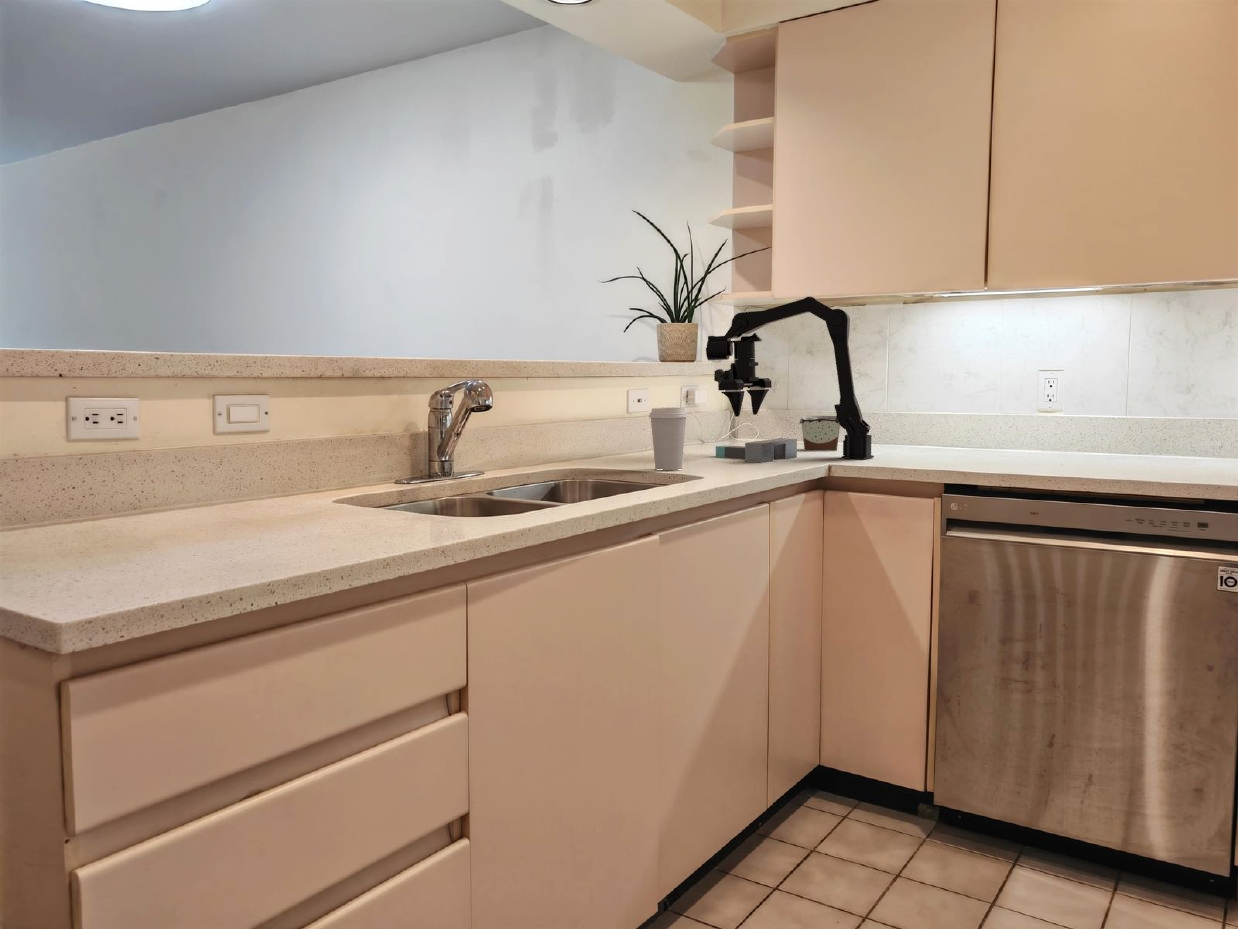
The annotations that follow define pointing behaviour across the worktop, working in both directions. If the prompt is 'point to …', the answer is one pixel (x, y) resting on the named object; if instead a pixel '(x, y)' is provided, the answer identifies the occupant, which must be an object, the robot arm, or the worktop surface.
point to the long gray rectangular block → (770, 450)
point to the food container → (820, 433)
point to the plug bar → (730, 451)
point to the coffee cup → (668, 437)
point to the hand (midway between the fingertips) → (746, 415)
